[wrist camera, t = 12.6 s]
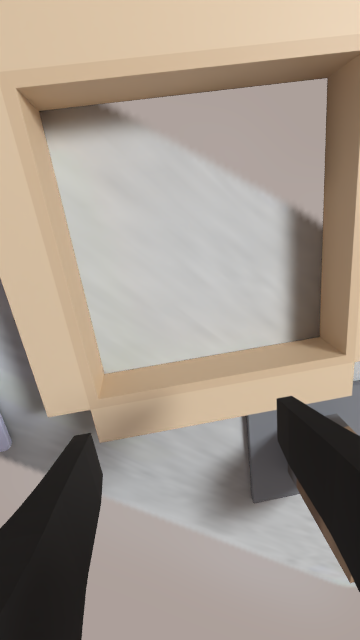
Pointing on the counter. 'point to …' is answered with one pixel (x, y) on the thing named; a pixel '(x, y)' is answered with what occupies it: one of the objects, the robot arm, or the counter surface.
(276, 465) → the slate mat
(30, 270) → the wooden square frame
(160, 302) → the counter surface
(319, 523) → the walnut block
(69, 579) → the robot arm
